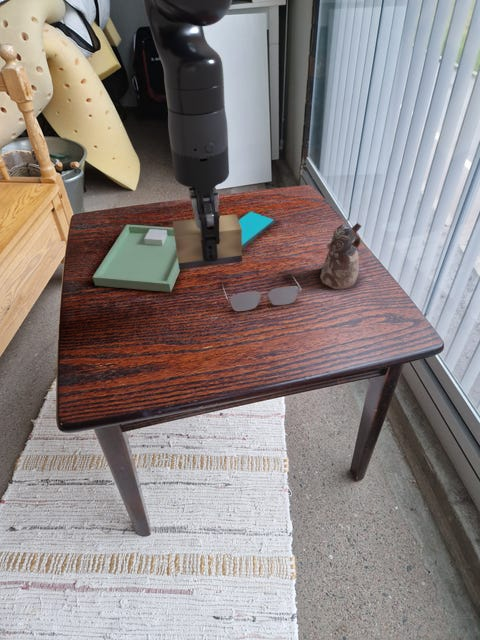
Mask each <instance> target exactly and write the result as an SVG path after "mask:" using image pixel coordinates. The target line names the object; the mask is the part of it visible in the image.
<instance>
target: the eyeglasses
mask: <svg viewBox="0 0 480 640" xmlns="http://www.w3.org/2000/svg"><path fill="white" fill-rule="evenodd" d="M289 276H291V277H292V278H293V280H294V281H295V283H296V284H297V286H296V285H291V286H290V285H289V286H283V287H282V286H281V287H276V288H273V289H271V290H269V292H268V291H263V292H259V291H248V292H242V293H236V294H233V295H231V296H230V298H228V296H227V293H226V290H225V287H224V283H223V282H222V283H221V286H222V288H223V292H224V294H225V295H224V296H225V298H226V301H227V302H230V305H231V307H232V309H233V311H236V312H245V311H250V310H253V309H256V308H257V307H258V306H259V304H260V301H261V297H262V295H263V294H267V297H268V299H269V300H270V303H271V304H272V305H274V306H284V305H290V304H293V303H294V302H295V301H296V300H297V298H298V294H299V291H301V290H302V287H301V285H300V284H299V282H298V281H297V280H296V278H295V277H294V275H293V274H292V273H288V274H287V276H286V278H288V277H289Z"/></svg>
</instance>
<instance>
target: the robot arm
mask: <svg viewBox="0 0 480 640" xmlns="http://www.w3.org/2000/svg"><path fill="white" fill-rule="evenodd" d="M142 2H143V8H144V11H145V15H146V19H147V22H148V26H149V29H150V32H151V35H152V39H153V42H154V45H155V49H156V51H157V54H158V57H159V59H160V62H161V65H162V69H163V74H164V75H163V78H164V88H165V96H166V103H167V112H168V116H167V122H168V123H167V124H168V126H167V127H168V137H169V143H170V150H171V159H172V166H173V167H172V168H173V174H174V178H175V181H176V182H178V184H180V185H182V186H184V187H187V188H188V195H189V199H190V203H191V205H190V206H191V210H192V213H193V217H194V219H195V224H196V226H197V227H198V228H199V229H200V241H201V244H202V253H203V260H204V262H213V261H217V259H218V256H217V244H219V242H220V238H219V223H220V222H219V218H220V216H221V214H220V212H219V206H220V194H219V192H218V191H217V186H218V185H220V184H222V183H224V182H226V180H227V179H228V177H229V176H230V161H229V132H228V131H229V129H228V119H227V113H226V105H225V82H224V81H225V78H224V76H225V75H224V66H223V61H222V58H221V56H220V54H219V53H218V52H217V51H216V50H215V49H214V48H213V47H211V45H210V44H209V43H208V41H207V39H206V37H205V36H206V35H205V31H204V27H209V26H212V25H215V24H217V23H218V22H220V21H221V20H222V19H223V18H224V17H225V16H226V15H227V13H228V12H229V10H230V8H231V6H232V3H233V0H142ZM199 219H200V220H199Z"/></svg>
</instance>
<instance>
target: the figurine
mask: <svg viewBox="0 0 480 640" xmlns="http://www.w3.org/2000/svg"><path fill="white" fill-rule="evenodd" d="M361 228H362V225H361V224H360V223H359V222H356V223H355V224H354V226H352V227H351V226H350V225H349V224H346V223H344V224H341V225H339V226H338V227H336V228H334V229H333V234H332V239H331V241H330V243H327V244H326V248H327V250H328V251H327V254H326V256H325V257H326V258H325V260H324V263H323V264H322V267H321V272H320V277H319V278H320V280H321V282H322V284H324V285H326V286H327V287H330V288H332V289H334V290H345V289H349V288H351V287H352V286H354V284H355V283H356V281H357V280H358V276H359V268H360V257H359V252H358V249H359V247H360V245H361V237H360V235H359V234H358V232H359V230H360V229H361ZM353 240H354V241H353Z"/></svg>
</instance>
